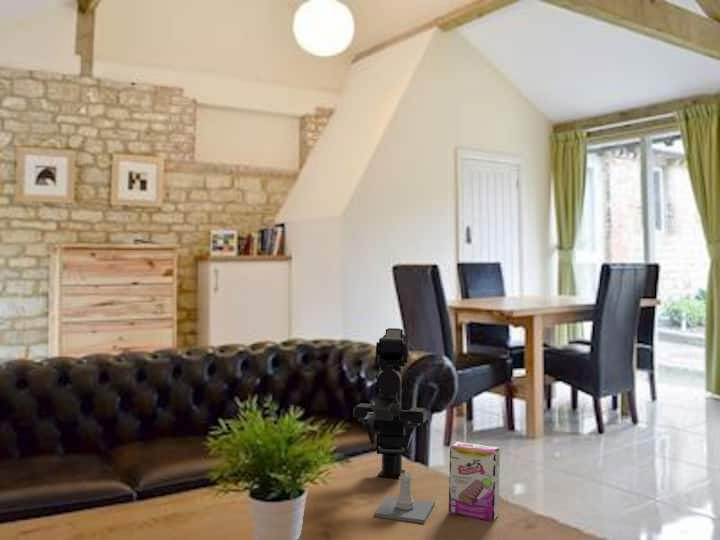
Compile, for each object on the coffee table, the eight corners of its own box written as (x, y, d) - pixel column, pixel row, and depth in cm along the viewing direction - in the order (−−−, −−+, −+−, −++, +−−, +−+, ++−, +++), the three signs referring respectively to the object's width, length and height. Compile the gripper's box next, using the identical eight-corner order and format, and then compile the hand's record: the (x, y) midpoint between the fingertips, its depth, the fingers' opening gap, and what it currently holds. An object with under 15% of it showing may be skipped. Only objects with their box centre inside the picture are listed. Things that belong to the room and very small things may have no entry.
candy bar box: (447, 514, 149) (448, 445, 149) (453, 507, 154) (454, 440, 154) (494, 523, 144) (495, 451, 144) (499, 515, 149) (500, 446, 149)
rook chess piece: (414, 504, 153) (415, 471, 153) (414, 511, 149) (414, 477, 149) (396, 503, 154) (396, 470, 154) (395, 510, 149) (395, 476, 149)
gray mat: (387, 499, 159) (387, 495, 159) (434, 505, 155) (434, 501, 155) (374, 516, 147) (374, 513, 147) (424, 523, 144) (424, 520, 144)
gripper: (346, 389, 159) (345, 450, 159) (418, 394, 153) (417, 458, 153) (360, 381, 169) (359, 439, 169) (428, 386, 164) (427, 446, 164)
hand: (389, 446), depth 164 cm, fingers open, 9 cm apart
